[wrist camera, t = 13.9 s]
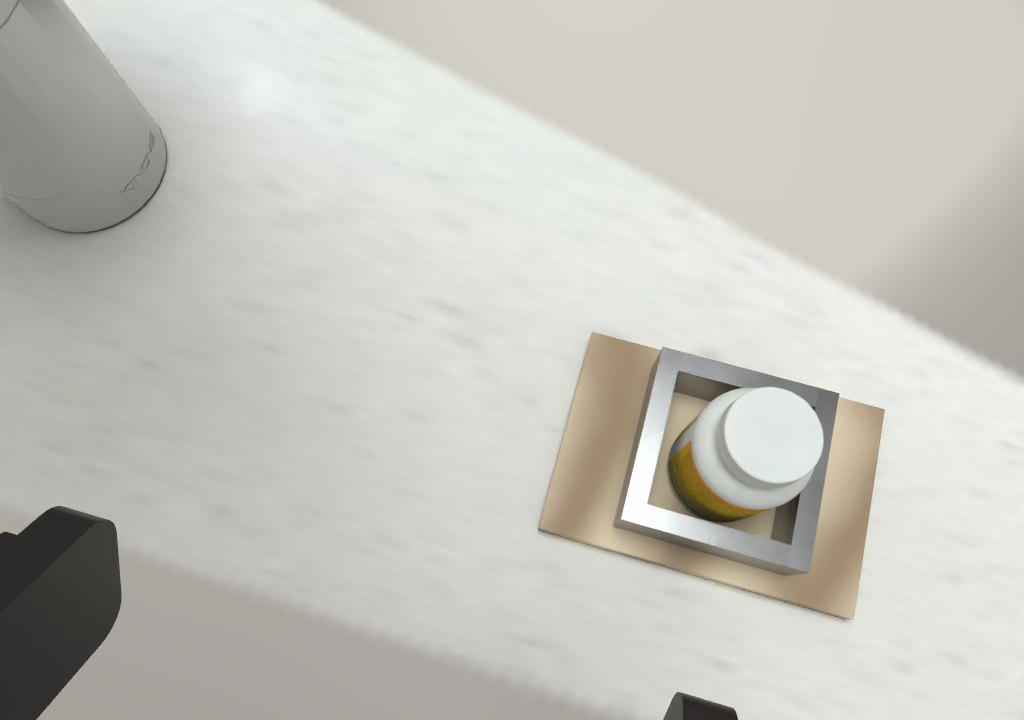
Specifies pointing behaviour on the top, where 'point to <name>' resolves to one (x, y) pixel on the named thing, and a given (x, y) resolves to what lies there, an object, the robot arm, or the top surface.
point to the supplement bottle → (745, 453)
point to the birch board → (598, 483)
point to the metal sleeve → (777, 554)
